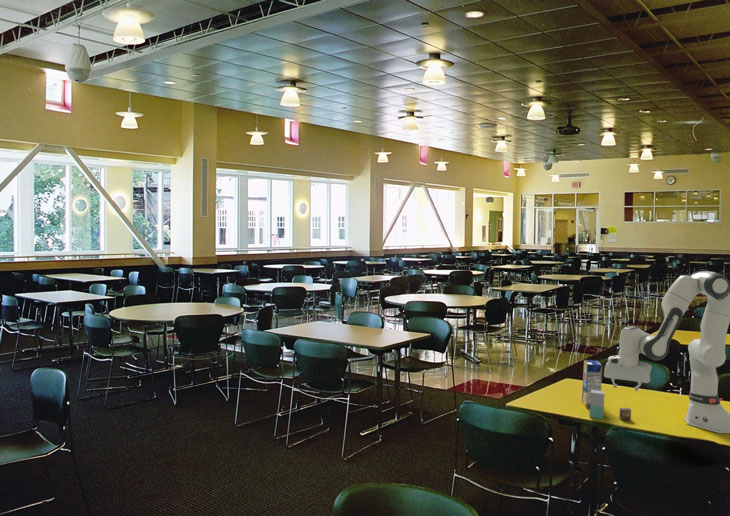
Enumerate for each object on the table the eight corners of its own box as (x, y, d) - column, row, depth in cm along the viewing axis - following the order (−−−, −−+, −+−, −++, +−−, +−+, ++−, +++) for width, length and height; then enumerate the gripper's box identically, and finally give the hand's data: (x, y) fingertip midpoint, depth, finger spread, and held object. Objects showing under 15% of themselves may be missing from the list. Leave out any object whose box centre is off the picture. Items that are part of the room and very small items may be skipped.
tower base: (603, 415, 299) (603, 403, 299) (603, 419, 294) (603, 406, 293) (589, 413, 301) (590, 401, 301) (589, 417, 296) (590, 404, 296)
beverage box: (585, 407, 312) (588, 364, 311) (581, 401, 323) (584, 359, 322) (600, 408, 311) (602, 365, 310) (595, 402, 322) (597, 360, 321)
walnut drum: (633, 420, 293) (633, 410, 293) (625, 421, 291) (625, 411, 291) (624, 417, 298) (625, 407, 297) (616, 418, 296) (617, 408, 295)
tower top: (603, 403, 299) (604, 391, 299) (603, 406, 293) (604, 394, 293) (590, 401, 301) (591, 389, 301) (590, 404, 296) (590, 392, 295)
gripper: (651, 362, 292) (649, 390, 293) (605, 356, 299) (602, 384, 300) (652, 364, 286) (650, 394, 287) (605, 358, 293) (602, 387, 294)
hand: (625, 389), depth 294 cm, fingers open, 8 cm apart
